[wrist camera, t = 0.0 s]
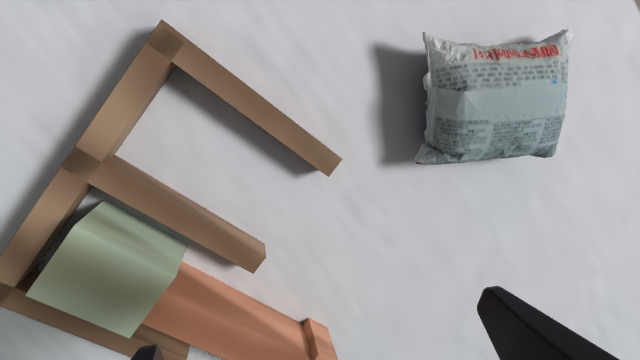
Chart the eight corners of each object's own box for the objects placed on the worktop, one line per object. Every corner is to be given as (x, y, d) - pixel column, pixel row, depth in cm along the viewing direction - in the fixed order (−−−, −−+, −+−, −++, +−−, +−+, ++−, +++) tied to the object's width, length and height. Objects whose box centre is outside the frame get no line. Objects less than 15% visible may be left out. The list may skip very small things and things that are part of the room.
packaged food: (405, 36, 23) (445, 26, 18) (550, 34, 25) (618, 24, 21) (400, 159, 26) (434, 177, 21) (531, 147, 28) (589, 161, 23)
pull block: (294, 366, 29) (302, 409, 25) (62, 259, 22) (25, 295, 18) (330, 323, 28) (343, 360, 24) (103, 200, 22) (74, 225, 18)
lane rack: (179, 353, 26) (175, 374, 24) (-3, 276, 21) (-27, 295, 20) (334, 153, 24) (342, 159, 22) (169, 25, 20) (161, 19, 18)
